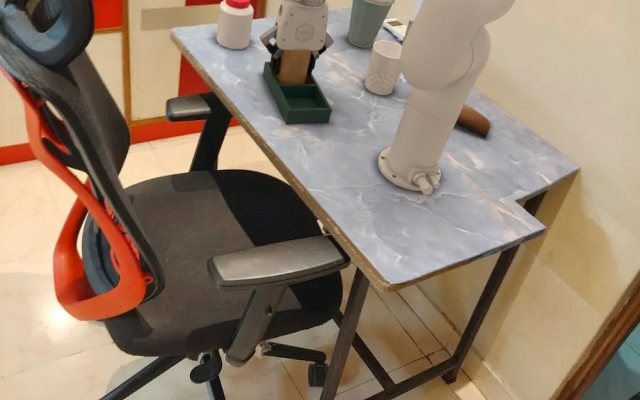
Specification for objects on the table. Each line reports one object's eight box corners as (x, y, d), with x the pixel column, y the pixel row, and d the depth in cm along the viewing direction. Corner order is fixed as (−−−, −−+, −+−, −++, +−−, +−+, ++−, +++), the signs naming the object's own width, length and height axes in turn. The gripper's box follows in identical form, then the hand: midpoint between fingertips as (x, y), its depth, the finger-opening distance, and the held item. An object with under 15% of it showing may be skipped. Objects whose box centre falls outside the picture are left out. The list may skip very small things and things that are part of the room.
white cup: (395, 83, 141) (407, 45, 134) (394, 100, 135) (407, 61, 128) (363, 75, 140) (374, 37, 134) (360, 92, 134) (372, 53, 128)
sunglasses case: (490, 119, 136) (499, 105, 130) (481, 144, 134) (489, 132, 128) (416, 92, 138) (421, 77, 132) (406, 117, 136) (411, 103, 130)
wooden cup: (307, 92, 128) (316, 51, 122) (278, 92, 126) (286, 50, 119) (298, 75, 133) (307, 35, 126) (269, 75, 130) (277, 34, 124)
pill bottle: (219, 29, 142) (224, -15, 135) (251, 36, 143) (257, -7, 135) (213, 44, 136) (217, -1, 129) (246, 52, 137) (252, 7, 130)
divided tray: (302, 75, 134) (305, 61, 132) (328, 123, 122) (332, 109, 120) (262, 75, 131) (264, 61, 129) (285, 124, 119) (288, 110, 117)
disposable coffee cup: (337, 29, 155) (351, -27, 145) (375, 34, 158) (392, -21, 148) (344, 50, 148) (359, -8, 138) (385, 54, 150) (402, -2, 140)
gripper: (269, -1, 110) (256, 81, 122) (354, 4, 116) (333, 81, 128) (259, -19, 115) (247, 62, 126) (341, -13, 121) (322, 63, 133)
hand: (291, 71), depth 127 cm, fingers open, 6 cm apart
